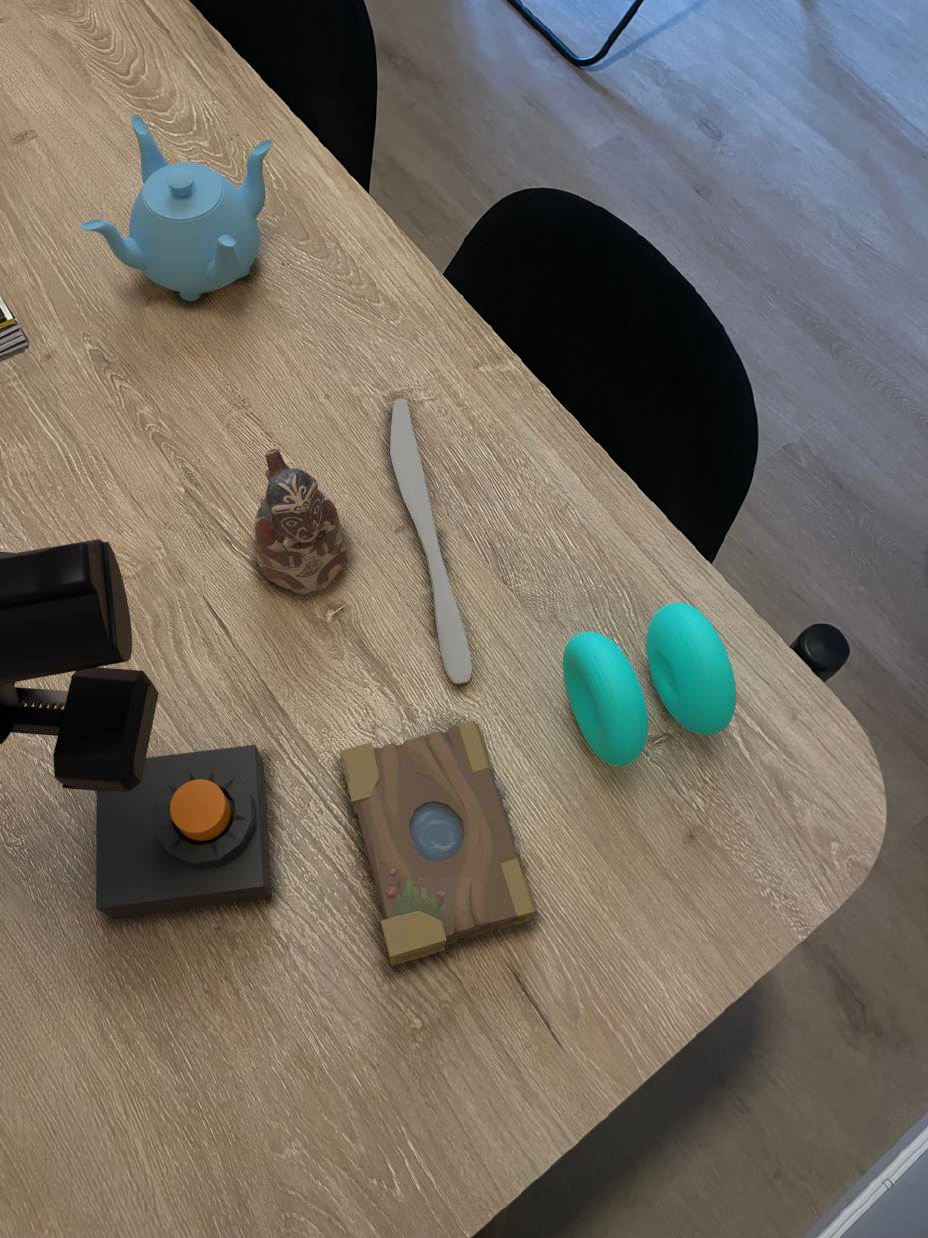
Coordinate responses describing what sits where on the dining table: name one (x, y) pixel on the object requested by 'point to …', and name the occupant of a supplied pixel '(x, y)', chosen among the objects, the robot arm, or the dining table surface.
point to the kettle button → (200, 810)
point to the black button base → (182, 838)
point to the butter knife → (429, 544)
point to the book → (437, 840)
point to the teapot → (189, 222)
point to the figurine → (297, 530)
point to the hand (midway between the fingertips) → (21, 764)
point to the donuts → (681, 672)
